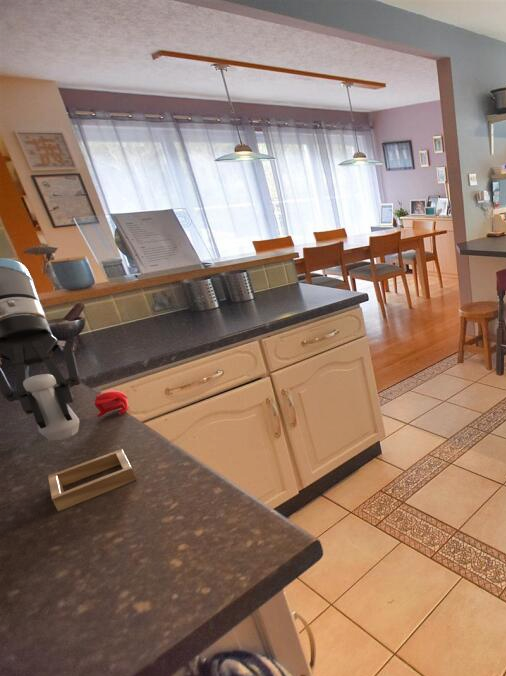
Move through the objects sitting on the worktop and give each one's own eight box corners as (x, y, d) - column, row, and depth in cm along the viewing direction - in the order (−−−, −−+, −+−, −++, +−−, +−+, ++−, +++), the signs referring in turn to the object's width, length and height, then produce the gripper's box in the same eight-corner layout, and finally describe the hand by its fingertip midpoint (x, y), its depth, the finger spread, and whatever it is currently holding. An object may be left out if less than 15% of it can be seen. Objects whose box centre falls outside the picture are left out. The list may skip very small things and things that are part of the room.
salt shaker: (51, 433, 89) (24, 374, 84) (87, 425, 91) (63, 368, 87) (38, 446, 84) (8, 385, 79) (76, 437, 86) (50, 378, 82)
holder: (53, 487, 77) (47, 475, 76) (126, 459, 84) (122, 448, 83) (58, 511, 71) (51, 499, 70) (136, 479, 78) (131, 467, 77)
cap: (100, 412, 105) (91, 390, 103) (132, 404, 109) (123, 382, 107) (96, 424, 99) (86, 401, 97) (130, 415, 102) (120, 392, 100)
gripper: (-48, 324, 81) (-16, 430, 75) (70, 305, 92) (106, 397, 86) (-31, 345, 86) (0, 446, 81) (78, 325, 97) (113, 413, 91)
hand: (55, 421), depth 83 cm, fingers closed on salt shaker, 3 cm apart
